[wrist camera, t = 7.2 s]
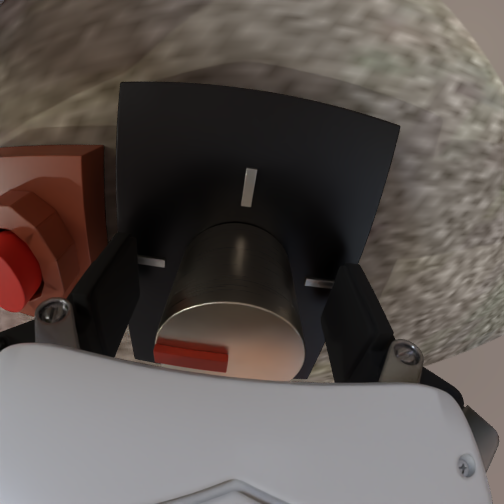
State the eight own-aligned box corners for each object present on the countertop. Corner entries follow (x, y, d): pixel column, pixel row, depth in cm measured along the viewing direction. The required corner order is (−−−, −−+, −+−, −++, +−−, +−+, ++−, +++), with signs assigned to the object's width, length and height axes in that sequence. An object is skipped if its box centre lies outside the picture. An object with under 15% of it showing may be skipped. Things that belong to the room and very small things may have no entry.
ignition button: (49, 297, 12) (33, 320, 11) (4, 284, 12) (-13, 303, 10) (33, 234, 10) (11, 254, 9) (-13, 226, 10) (-34, 243, 9)
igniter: (116, 307, 17) (94, 353, 14) (24, 285, 16) (-5, 321, 13) (104, 144, 12) (58, 167, 9) (-3, 147, 11) (-49, 169, 8)
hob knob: (301, 231, 11) (328, 320, 7) (277, 317, 13) (286, 409, 9) (184, 215, 11) (145, 298, 7) (181, 305, 13) (158, 395, 9)
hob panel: (301, 342, 19) (307, 381, 16) (147, 323, 18) (133, 361, 15) (371, 117, 12) (403, 126, 9) (147, 82, 11) (117, 82, 8)
